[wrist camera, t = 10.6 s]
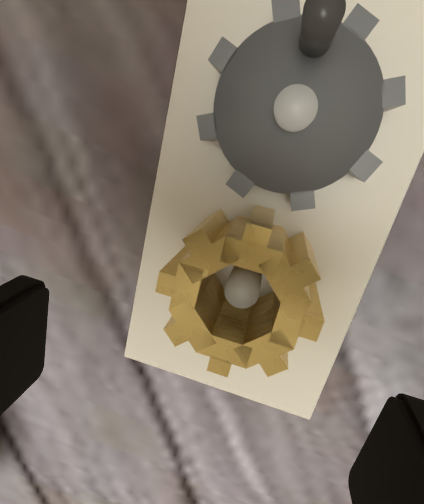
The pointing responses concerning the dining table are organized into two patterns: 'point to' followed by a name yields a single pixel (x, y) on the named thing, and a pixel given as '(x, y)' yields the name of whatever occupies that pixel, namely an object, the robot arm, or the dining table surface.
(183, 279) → the brass gear
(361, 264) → the gear board
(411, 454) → the robot arm
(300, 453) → the dining table surface
